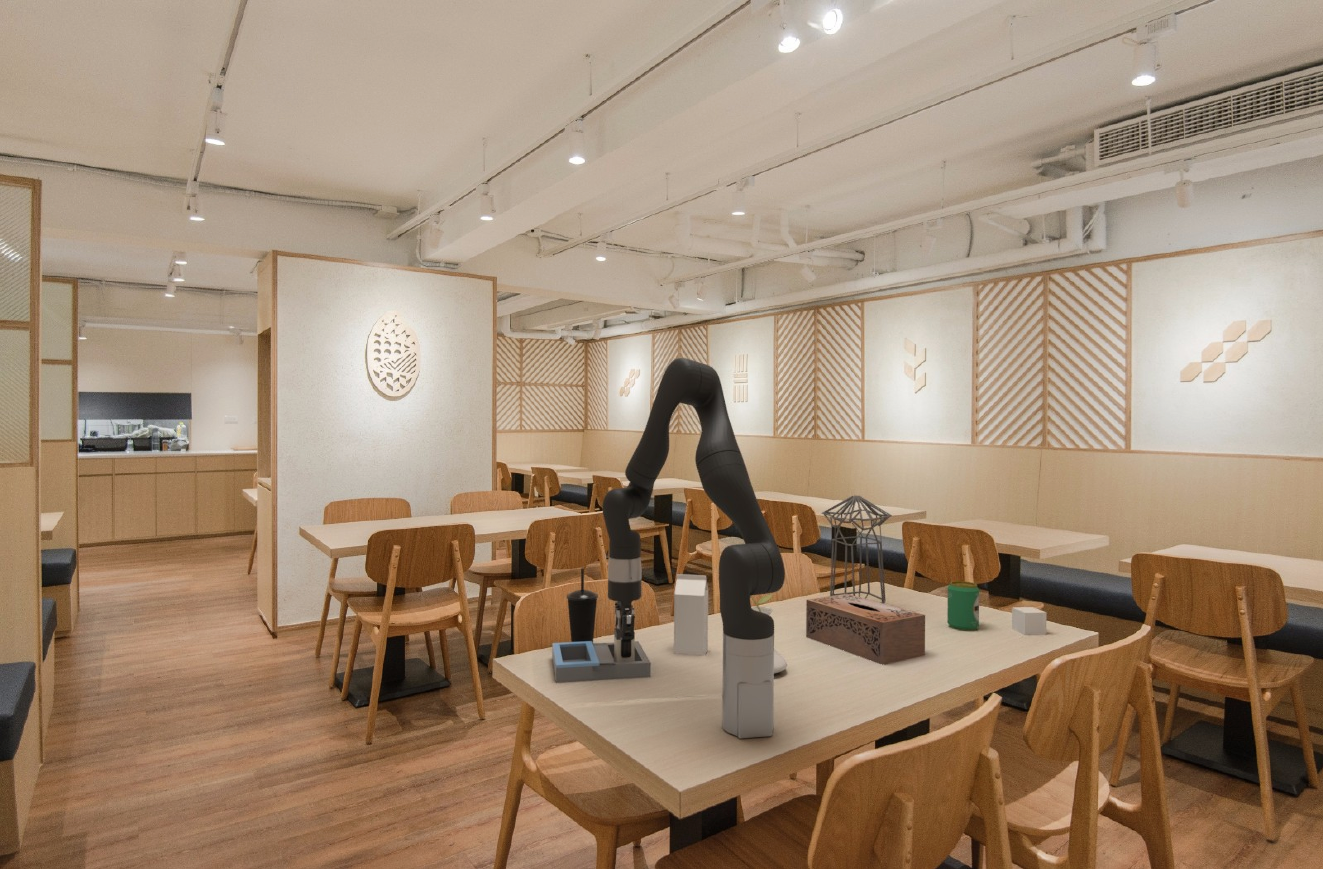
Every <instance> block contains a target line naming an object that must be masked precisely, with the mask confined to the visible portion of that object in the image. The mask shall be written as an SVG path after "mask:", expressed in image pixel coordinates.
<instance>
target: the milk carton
mask: <svg viewBox="0 0 1323 869" xmlns="http://www.w3.org/2000/svg"><path fill="white" fill-rule="evenodd" d="M675 581H676V582H675V588H674V593H673V598H674V599H673V600H674V601H673V602H674V604H673V607H674V608H673V610H674V611H673V613H674V614H673V616H674V617H673V654H677V655H692V656H694V655H695V656H704V655H706V654H707V651H708V650H709V643H708V642H709V587H708V581H707V575H702V574H700V575H699V574H684V573H683V574H682V573H681V574H679V573H677V574H676V580H675Z"/></svg>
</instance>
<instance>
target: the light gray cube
mask: <svg viewBox="0 0 1323 869" xmlns="http://www.w3.org/2000/svg"><path fill="white" fill-rule="evenodd" d="M1011 629H1012V630H1013V631H1015V632H1017V633H1020V634H1022V635H1023V636H1042V635H1043V636H1044V635H1045V636H1047V612H1046V611H1044V610H1041V609H1038V608H1037V607H1033V606H1023V607H1021V606H1018V607H1015V606H1014V607H1011Z"/></svg>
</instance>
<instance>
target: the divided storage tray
mask: <svg viewBox="0 0 1323 869" xmlns="http://www.w3.org/2000/svg"><path fill="white" fill-rule="evenodd" d="M551 653H552V664H553V672H554V679H555V683H557V684H558V683H572V682H573V683H574V682H575V683H576V682H587V681H590V682H591V681H602V680H603V681H605V680H621V679H622V680H623V679H637V678H638V679H639V678H640V679H641V678H651V666H652V665H651V661H650V659H649V658H648V656H647V653H646V652H645V650H644V649H643V646H642V645H641V643H640V642H639V640H638V641H636V640H635V661H631V662H614V642H600V643H599V642H597V643H594V642H593V644H592V641H583V642H571V641H567V642H552V652H551Z"/></svg>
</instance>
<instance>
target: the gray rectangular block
mask: <svg viewBox="0 0 1323 869" xmlns="http://www.w3.org/2000/svg"><path fill="white" fill-rule="evenodd" d="M613 629H614V630H613V631H614V635H613V637H614V638H613V643H614V662H631V661H635V641H636V639H635V638H636V637H635V635H636V633H635V631H634V639H633V640H631V657H629V658H622V657H621V639H620V637H621V634H620V630H619V629H618V628H616V627H614V628H613ZM625 634H629V631H625Z"/></svg>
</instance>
